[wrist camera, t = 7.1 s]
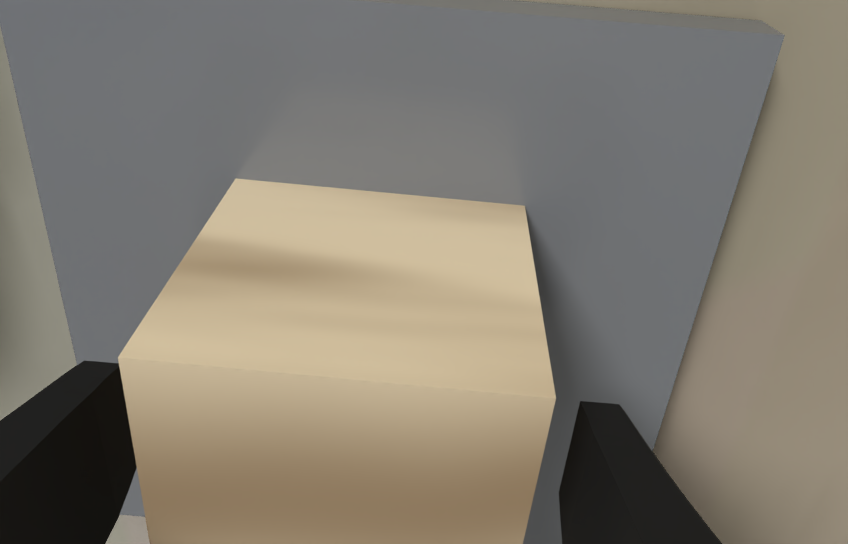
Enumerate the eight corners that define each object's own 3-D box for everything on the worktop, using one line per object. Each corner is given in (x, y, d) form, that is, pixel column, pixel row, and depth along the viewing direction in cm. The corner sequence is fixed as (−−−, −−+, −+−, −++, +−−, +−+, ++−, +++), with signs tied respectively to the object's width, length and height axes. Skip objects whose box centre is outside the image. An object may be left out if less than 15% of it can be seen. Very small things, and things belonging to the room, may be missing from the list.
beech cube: (488, 421, 15) (497, 654, 11) (248, 399, 15) (163, 622, 11) (524, 205, 13) (555, 397, 8) (235, 178, 13) (117, 357, 8)
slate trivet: (611, 522, 18) (618, 556, 17) (127, 481, 18) (110, 513, 17) (761, 20, 12) (784, 35, 11) (22, -40, 12) (-13, -30, 11)
